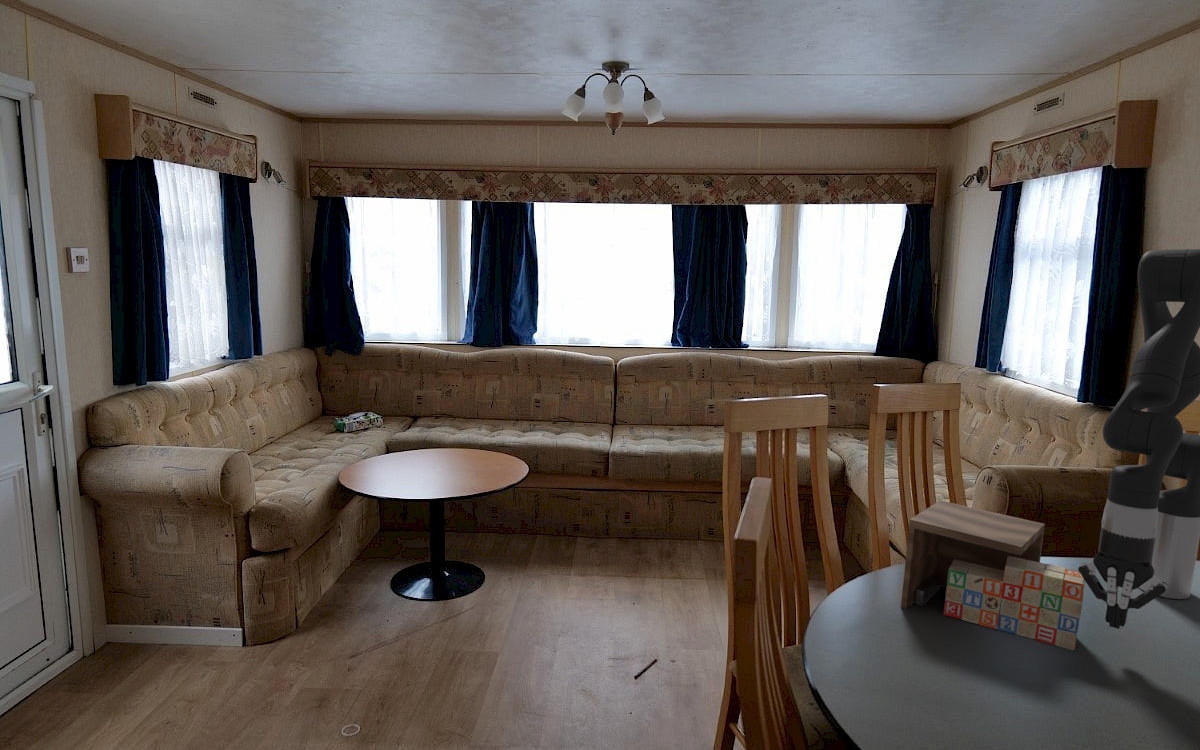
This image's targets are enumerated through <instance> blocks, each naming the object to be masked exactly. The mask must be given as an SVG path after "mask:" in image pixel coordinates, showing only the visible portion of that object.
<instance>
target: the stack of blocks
mask: <svg viewBox="0 0 1200 750" xmlns="http://www.w3.org/2000/svg"><path fill="white" fill-rule="evenodd" d="M1085 583H1086V581H1085V580H1084V578H1083V577H1082V575H1081V574H1080V572H1079V571H1078V570H1072V569H1069V568H1065V567H1064V566H1060V565H1056V564H1052V563H1051V564H1050V563H1044V562H1041V561H1040V562H1035V561H1030V560H1025V559H1021V558H1016V557H1011V556H1008V557H1007V561H1006V565H1005V571H1003V570H998V569H994V568H989V567H986V566H982V565H977V564H973V563H968V562H964V561H959V560H955V559H954V560H953V562H952V564H951V566H950V568H949V571H948V579H947V588H945V598H944V607H943V615H944V616H947V617H951V618H955V619H959V620H962V621H964V622H968V623H973V624H976V625H979V626H983V627H988V628H991V629H995V630H999V631H1002V632H1006V633H1009V634H1013V635H1017V636H1020V637H1024V638H1028V639H1032V640H1035V641H1038V642H1042V643H1046V644H1050V645H1054V646H1057V647H1060V648H1063V649H1064V648H1065V649H1068V650H1070V651H1075V650H1076V643H1077V638H1078V631H1079V625H1080V620H1081V614H1082V610H1083V609H1082V608H1083V603H1084V602H1083V601H1084V600H1083V599H1084V589H1085Z"/></svg>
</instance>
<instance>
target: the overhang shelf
mask: <svg viewBox="0 0 1200 750" xmlns="http://www.w3.org/2000/svg"><path fill="white" fill-rule="evenodd" d="M908 524H909V525H908V535H907V543H906V544H907V545H906V553H905V561H904V562H905V564H904V573H903V583H902V591H901V592H902V593H901V601H900V602H901V603H900V608H902V607H903V608H902V609H905V610H906V608H907V609H908V608H909V607H910V606H912V603H913V602H914V600H915V590H916V588H917V587H919V586H920V585H921V584H922V583H924V582H925V581H926V580H927V579H928V578H930V577H931V576H932V575H933V574H934V575H937V576H941V582H940V587H942V586H944V587H943V588H945V587H947V579H948V571H949V568H950V566H951V564H952V562H953V560H954V559H955V560H959V561H964V562H968V563H973V564H977V565H982V566H986V567H989V568H994V569H998V570H1003V571H1005V565H1006V561H1007V557H1008V556H1011V557H1016V558H1021V559H1025V560H1030V561H1035V562H1040V563H1041V558H1042V557H1041V556H1042V550H1043V549H1042V548H1043V547H1042V546H1043V541H1044V534H1045V533H1044V532H1045V527H1046V526H1045V525H1046V524H1045V523H1042V522H1038V521H1033V520H1029V519H1024V518H1019V517H1016V516H1011V515H1006V514H1002V513H999V512H993V511H990V510H985V509H982V508H981V509H980V508H975V507H971V506H967V505H962V504H958V503H953V502H949V501H945V500H938V501H937V502H935V503H934V504H933V505H930V506H929V507H927V508H926V509H923V510H922V511H921V512H920V513H917V514H916V515H914V516H913V517H911V518H910V519H909V523H908ZM913 604H914V603H913Z"/></svg>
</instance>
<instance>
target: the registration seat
mask: <svg viewBox="0 0 1200 750" xmlns="http://www.w3.org/2000/svg"><path fill="white" fill-rule="evenodd" d="M940 582H941V576H937V575H934V574H933V575H932V576H931V577H930V578H928V579H927V580H926V581H925V582H924V583H922V584H921V585H920V586H919V587H917V588H916V590H915V600H914V603H915V604H914V603H913V604H914V605H917V606H920V605H921V606H920V607H923V606H925V604H926V603H927V602H928V601H930V600H931V599H932V598H933V597H934V596H935V595H936V594H937V592H938V591H939V590H940V588H941V586H940ZM939 592H940V591H939ZM939 592H938V593H939ZM931 597H932V598H931ZM930 598H931V599H930ZM929 599H930V600H929Z"/></svg>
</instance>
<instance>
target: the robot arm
mask: <svg viewBox="0 0 1200 750" xmlns="http://www.w3.org/2000/svg"><path fill="white" fill-rule="evenodd" d="M1137 286H1138V288H1137V289H1138V296H1139V297H1138V298H1139V303H1140V304H1139V305H1140V309H1141V310H1140V311H1141V318H1142V325H1143V337H1144V339H1143V340H1144V343H1143V344H1142V346H1141V347H1140V348H1139V349H1138V351H1137V353H1136V355H1135V358H1134V360H1133V363H1132V367H1131V372H1130V375H1129V379H1128V383H1127V385H1126V388H1125V390H1124V392H1123V393H1122V395H1121V397H1120V398H1119V401H1118V402H1117V403H1116V405H1115V406H1114V407H1113V409H1112V410H1111V411H1110V413H1109V414H1108V416H1107V417H1106V419H1105V422H1104V424H1103V427H1102V437H1103V440H1104V442H1105V444H1106V445H1107V446H1108V447H1109V449H1113V450H1116V451H1119V452H1126V453H1132V454H1140V455H1144V456H1145V462H1146V463H1144V464H1143V463H1142V464H1124V465H1122V464H1121V465H1117V466H1115V467H1113V468H1112V470H1111V472H1110V476H1109V483H1108V491H1107V497H1106V498H1107V499H1106V503H1105V506H1104V509H1103V514H1102V518H1101V528H1100V534H1099V544H1098V551H1097V554H1096V555H1095V556H1094V557H1093V560H1092V561H1089V562H1082V563H1081V564H1080V565H1079V567H1078V569H1077V571H1078V572H1080V574H1081V575H1082V577H1083V578H1084V580H1085V583H1086V584H1087V586H1088V587H1089V589H1090V590H1091V592H1092V593H1093V595H1094V597H1095V598H1096V599H1098V600H1102V601H1104V602H1105V604H1106V612H1105V622H1106V623H1108V625H1109V627H1111V628H1113V629H1114V628H1115V629H1117V630H1120V629H1121V627H1122V628H1123V627H1124V626H1125V625H1126V623H1127V619H1128V611H1129V609H1136V610H1139V609H1141V608H1143V607H1144V606H1146V605H1147V604H1149V603H1150V602H1152V601H1153V600H1155V599H1156V598H1158V597H1162V598H1167V599H1173V600H1186V599H1189V598H1190V596H1191V591H1192V586H1193V581H1194V575H1195V569H1196V561H1197V558H1198V557H1197V555H1198V549H1199V545H1200V434H1199V435H1198V434H1193V433H1186V432H1184V427H1183V426H1182V424H1181V421H1180V420H1179V419H1178V418H1177V416H1178V415H1179V414H1180V413H1181V412H1182V411H1184V410H1185V409H1186V408H1187V407H1189V406H1190V405H1191V404H1192V403H1193V402H1194V401H1195V400H1196V399H1197V398H1198V397H1199V396H1200V346H1199V345H1198V343H1197V342H1196V341H1195V339H1196V338H1197V337H1196V336H1197V334H1198V332H1199V330H1200V249H1199V248H1198V249H1197V248H1195V249H1194V248H1193V249H1192V248H1190V249H1189V248H1188V249H1187V248H1185V249H1181V248H1179V249H1173V248H1172V249H1154V250H1149V251H1148V250H1147V252H1145V253H1144V254H1142V256H1141V257H1140V260H1139V263H1138V267H1137ZM1167 302H1169V303H1173V302H1174V303H1183V304H1182V307H1181V308H1180V310H1179V311H1178V312H1177V313H1176V314H1175V315H1174V316H1173V314H1172V312H1171V311H1170V309H1169V307H1168V304H1167ZM1143 410H1147V411H1143ZM1164 476H1166V477H1171V478H1176V479H1180V480H1185V481H1186V484H1185V485H1184V486H1182V487H1179V488H1173V489H1163V490H1161V489H1162V483H1163V479H1164ZM1097 571H1098V573H1099V576H1101V578H1102V579H1103V581H1104V582H1105V583H1106V584H1107V585H1106V589H1105V587H1104V586H1103V585H1102V583H1101V581H1100V580H1099V578H1097V576H1096V573H1097ZM1119 587H1120V588H1122V589H1121V592H1120V598H1119V602H1118V596H1119V595H1118V594H1119ZM1137 589H1140V590H1142V591H1143V592H1142V593H1141V594H1139V595H1137V596H1136V597H1134V598H1131V597H1132V593H1133V590H1137Z"/></svg>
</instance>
